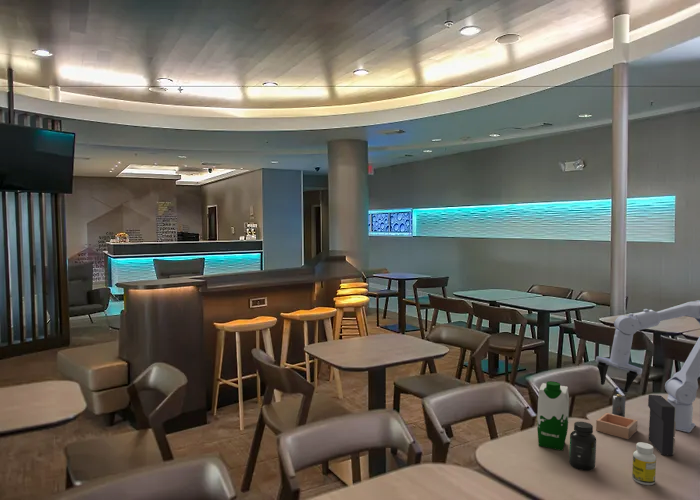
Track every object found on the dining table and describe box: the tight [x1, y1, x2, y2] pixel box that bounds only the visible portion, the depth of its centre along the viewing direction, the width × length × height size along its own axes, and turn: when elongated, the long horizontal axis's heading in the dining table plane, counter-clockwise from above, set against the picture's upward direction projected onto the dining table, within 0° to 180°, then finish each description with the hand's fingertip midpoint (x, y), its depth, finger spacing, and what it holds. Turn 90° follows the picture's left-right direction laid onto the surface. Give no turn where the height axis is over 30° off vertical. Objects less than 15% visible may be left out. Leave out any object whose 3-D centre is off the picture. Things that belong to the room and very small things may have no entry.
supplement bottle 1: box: [568, 421, 597, 472], centre depth 146 cm, size 7×7×12 cm
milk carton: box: [536, 381, 570, 451], centre depth 160 cm, size 9×9×20 cm
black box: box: [647, 394, 676, 457], centre depth 158 cm, size 11×4×15 cm, turn 168°
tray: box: [595, 412, 638, 440], centre depth 171 cm, size 10×10×4 cm
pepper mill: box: [611, 393, 627, 417], centre depth 182 cm, size 4×4×9 cm
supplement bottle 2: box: [631, 441, 657, 486], centre depth 138 cm, size 5×5×10 cm
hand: (614, 387), depth 178 cm, fingers open, 7 cm apart
